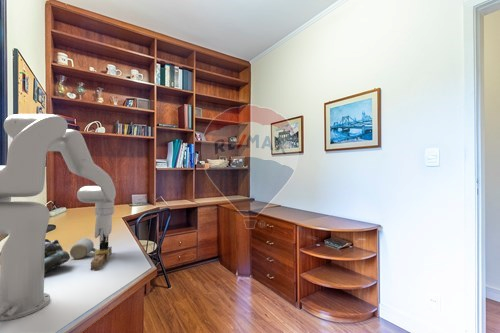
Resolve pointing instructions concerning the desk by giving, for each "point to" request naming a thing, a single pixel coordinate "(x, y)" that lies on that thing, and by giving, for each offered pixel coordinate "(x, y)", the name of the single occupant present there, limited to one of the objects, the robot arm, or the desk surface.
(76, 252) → the ceramic mug
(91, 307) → the desk surface
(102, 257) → the bar
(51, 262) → the lucky cat figurine
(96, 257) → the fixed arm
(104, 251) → the collar
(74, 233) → the desk surface
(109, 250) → the block
